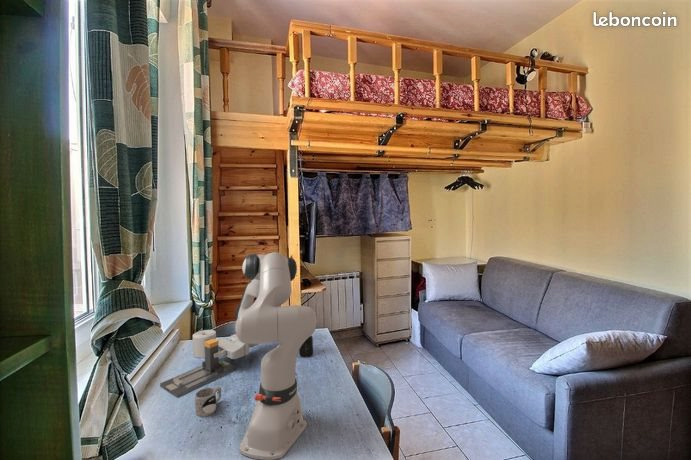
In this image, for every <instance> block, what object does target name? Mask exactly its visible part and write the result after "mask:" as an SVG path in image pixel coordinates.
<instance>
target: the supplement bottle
mask: <svg viewBox="0 0 691 460" xmlns="http://www.w3.org/2000/svg"><path fill="white" fill-rule="evenodd" d="M313 340H314V339H313V336H312V335H311V336H310V337H309V338H308V339H307V340H306V341H305V342H304V343H303V344H302V346H301V347H300V349H299V351H298V354H299V356H300V357H302V358H309V357H312V356H313V355H314V341H313Z"/></svg>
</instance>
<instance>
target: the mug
mask: <svg viewBox="0 0 691 460" xmlns="http://www.w3.org/2000/svg"><path fill="white" fill-rule="evenodd" d="M216 393H218V394H217V395H216ZM221 399H222V388H221V387H220V386H218V387H215V388H214V387H204V388H201V389H199V390H198V391H196V392H195V393H194V403H195V407H194V408H195V415H196V417H198V416H199V418H206V417H209V416H211V415H212V414H214V413H215V412H216V410H217V404H218V402H219V401H220V400H221Z"/></svg>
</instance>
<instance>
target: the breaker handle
mask: <svg viewBox="0 0 691 460" xmlns="http://www.w3.org/2000/svg"><path fill="white" fill-rule="evenodd" d="M218 345H219V341H218V340H215V339H211V340H208V341H205V342H204V346H205V357H204V361H205V369H207V370H209V371H212V370H214V369H215V368H217V367H219V359H220V357H216V358H214V357H213V353H215V352H218Z"/></svg>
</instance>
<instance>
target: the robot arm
mask: <svg viewBox="0 0 691 460" xmlns="http://www.w3.org/2000/svg"><path fill="white" fill-rule="evenodd" d="M241 269H242V273H243V276H244V277H245V278H246V279H248V280H249V282H247V284H246V285H245V287H244V290H243V293H242V295H241V299H240V301H239V304H238V306H237V308H236V309H235V311H234V319H235V320H236V322H235V325H234V326H235V327H234V330H235V333H234V334H231V335H230V336H229V338H225V337H216V339H215V340H218V341H219V345H218V352H215V353H213V357H214V358H216V357H219V358H220V357H226V358H228V359H231V360H237V359H239V358H242V357H244V356H248V355H249V354H250V353H249V352H250V349H251V348H254V347H255V346H258V345H259V344H261V345H262V344H269V343H277V342H278V345H277V346H276V347H273V349H271V350H269V351H268V352H267V353H265V354H264V356H263V358H262V359H261V361H260V384H259V389H258V392H257V393H256V394H255V396H254V401H255V402H256V404H255V407H254V409H253V411H252V416H250V417H251V418H250V420H249V423H248V426H247V429H246V432H245V434H244V435H243V439H242V441H241V442H240V444H239V446H238V447H239V448H238V450H239V453H240V454H241V455H243V456H246V457H247V458H251V459H255V460H278V459H281V458H283V457H284V456H285V455H286V454H287V452H288V451H289V450H290V448H291V447H292V446H293V445H294V444H295V442H296V441H297V440H298V438H299V437H300V436H301V435H302V434H303V433H304V431H305V430H306V429H307V427H308V424H307V421H306V420H304V418H303V417H304V416H303V415H304V414H303V406H302V400H301V398H300V397H299V395H298V392H297V391H298V382H297V381H298V380H297V377H296V368H297V367H296V365H297V356H298V354H299V349H300V347H301V346H302V344H303V343H304V342H305V341H306V340H307V339H308V338H309V337H310V336H312V335H313V334H314V333H315V331H316V328H317V324H318V319H317V315H316V312H315V311H314V309H312V307H310V306H305V305H297V304H296V305H284V304H285V303H286V302H287V301H288V300H289V299H290V297H291V295H292V281H294V279H295V277H296V275H297V273H298V266H297V261H296V260H295V259H294V258H292V257H289V256H285V255H284V254H282V253H280V252H276V251H274V252H270V253H269V252H268V253H265V254H257V253H251V254H248V255H246V256H245V259H244V260H243V263H242V267H241ZM255 298H256V299H255ZM254 299H255V301H254Z"/></svg>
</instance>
